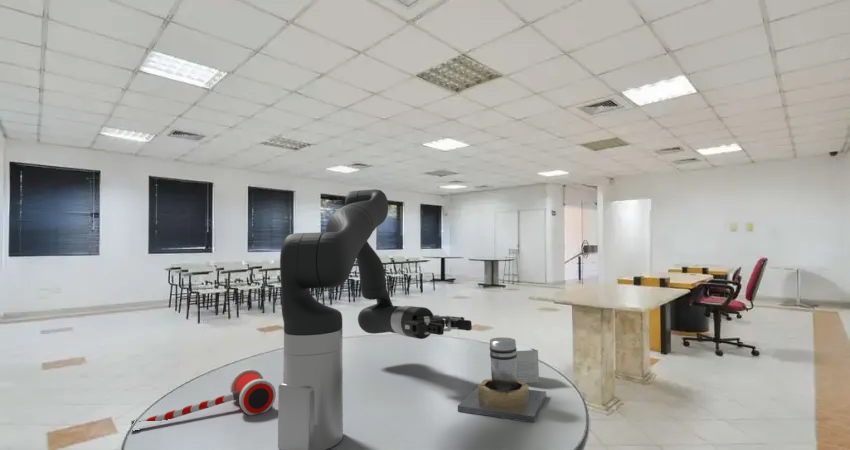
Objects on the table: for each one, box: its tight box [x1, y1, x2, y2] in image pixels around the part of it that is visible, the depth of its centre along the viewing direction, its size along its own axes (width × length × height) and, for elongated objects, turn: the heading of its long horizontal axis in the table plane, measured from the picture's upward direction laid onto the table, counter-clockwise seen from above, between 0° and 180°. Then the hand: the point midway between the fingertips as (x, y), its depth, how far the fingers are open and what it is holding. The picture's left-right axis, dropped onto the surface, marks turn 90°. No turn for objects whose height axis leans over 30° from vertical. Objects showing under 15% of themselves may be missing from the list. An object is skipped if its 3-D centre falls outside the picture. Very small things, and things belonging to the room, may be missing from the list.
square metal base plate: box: [457, 378, 547, 423], centre depth 77 cm, size 14×14×4 cm
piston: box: [489, 337, 518, 391], centre depth 78 cm, size 5×5×11 cm
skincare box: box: [516, 344, 540, 384], centre depth 92 cm, size 6×6×7 cm
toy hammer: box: [131, 368, 277, 426], centre depth 75 cm, size 23×12×6 cm, turn 125°
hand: (456, 327), depth 86 cm, fingers open, 8 cm apart
